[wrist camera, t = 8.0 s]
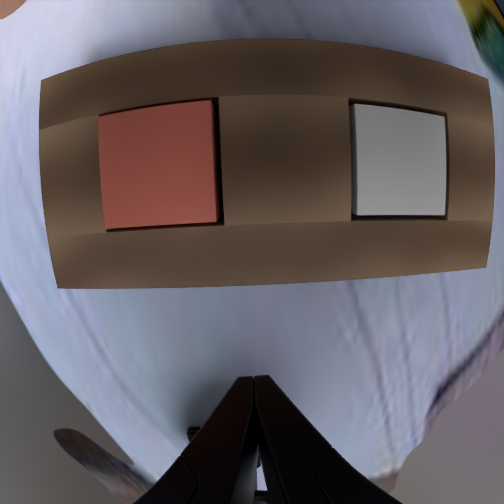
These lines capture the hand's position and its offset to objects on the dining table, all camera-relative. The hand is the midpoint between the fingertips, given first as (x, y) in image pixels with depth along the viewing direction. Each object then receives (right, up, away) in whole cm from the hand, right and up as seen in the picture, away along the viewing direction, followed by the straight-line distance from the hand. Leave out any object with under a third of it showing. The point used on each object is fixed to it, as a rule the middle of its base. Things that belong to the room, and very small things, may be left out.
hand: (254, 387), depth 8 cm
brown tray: (+1, +9, +10) cm, 14 cm away
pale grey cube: (+8, +9, +9) cm, 15 cm away
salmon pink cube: (-4, +8, +8) cm, 13 cm away
